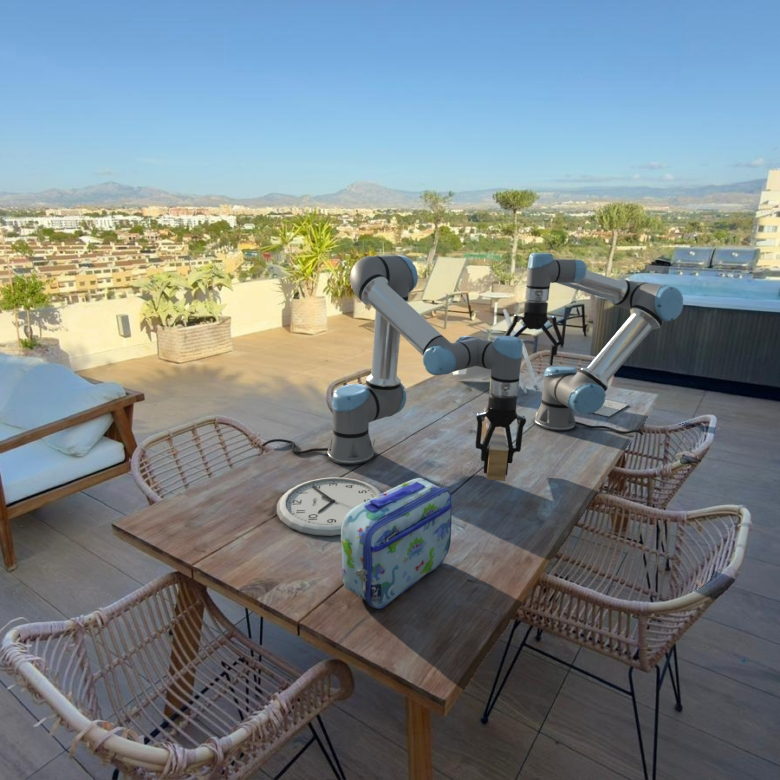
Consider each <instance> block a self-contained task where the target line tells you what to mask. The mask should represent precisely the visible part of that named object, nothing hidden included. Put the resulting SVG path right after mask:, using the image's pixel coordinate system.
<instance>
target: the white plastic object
mask: <svg viewBox="0 0 780 780" xmlns="http://www.w3.org/2000/svg"><path fill="white" fill-rule="evenodd" d="M502 312H503V315H504V319H505V321H506V325H507V329H508V328H509V326H510V324H511V323H512V318H511V316H510V314H509V312H508V311H507V309H506V308H504V309H502ZM515 332H516V331H515V328H514V329H513V330H512V332H511V334H510V336H512V335H513V334H514V333H515ZM492 341H493V342H494V340H492ZM522 342H523V350H522V354H523V358H524V361H525V365H526V367H527V370H528V374H529V377H530V380H531V383H532V386H533V388H534V389H535V391H540V387H539V384H538V380H537V378H536V374H535V371H534V368H533V365H532V363H531V359H530V356H529V353H528V350H527V347H526V345H525V343H524V341H523V340H522ZM451 373H452V376H453V377H454V379H455V380H456V381H465V380H472V379H473V380H474V379H481V378H482V379H484V380H486V379H489V378H491V369H486V368H483V367H479V366H474V367H470V368H466V369H462V370H458V371H455V372H451ZM519 387H520V388H521V389H522V391H523V392H524V394H527V391H528V389H527V386H526V383H525V381H524V377H523V373H522V371H521V369H520V375H519Z"/></svg>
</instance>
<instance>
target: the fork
mask: <svg viewBox="0 0 780 780" xmlns="http://www.w3.org/2000/svg"><path fill="white" fill-rule="evenodd" d="M437 487H439V488H442V487H444V488H447V487H448V484H446V483H445V482H444V483H443V484H441V482H439V484H438V486H437Z"/></svg>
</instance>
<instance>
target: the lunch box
mask: <svg viewBox="0 0 780 780" xmlns="http://www.w3.org/2000/svg"><path fill="white" fill-rule="evenodd" d="M451 539H452V494H451V491H450V490H449V488H447V487H445V486H444V487H443V486H442V488H441V487H440V486H439V487H438V486H437V485H435V484H434V483H432V482H430V481H428V480H426V479H424V478H421V477H416V478H413V479H410V480H408V481H405V482H403V483H402V484H398V485H397V486H395V487H392V488H390V489H389V490H386V491H384V492H382V494H380V495H378V496H376V497H374V498H372V499H370V500H368V501H366V502H364V503H362V504H360V505H358V506H356V507H354V508H353V509H351V510H350V511H349V512H348V514H347V515H346V517H345V518H344V520H343V523H342V528H341V535H340V546H341V569H342V570H341V571H342V582H343V585H344V588H345V589H346V590H347V591H349V592H351V593H353V594H355V595H356V596H358V597H359V598H361V599H362V600H364V601H365V602H366V603H367V605H368V606H370V607H372V608H374V609H378V610H379V609H380V610H381V609H383V608H384V607H387V605H389V604H390V603H391V602H392V601H393V600H395V599H396V598H397V597H399V596H400V595H402V594H403V593H404V592H405V591H407V590H408V589H409V588H411V587H412V586H413V585H415V584H416V583H418V581H419V580H420V579H421V578H423V577H425V576H427V575H428V574H429V573H431V572H432V571H434V570H435V569H437V568H438V567H439V566H441V564H442V563H443V562H444V561H445V559H446V557H447V556H448V554H449V550H450V547H451V541H452V540H451Z"/></svg>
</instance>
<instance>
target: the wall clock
mask: <svg viewBox="0 0 780 780" xmlns="http://www.w3.org/2000/svg"><path fill="white" fill-rule="evenodd" d="M382 493H383V492H382V491H381V490H380V489H379V488H377V487H376V486H374V485H372V484H371V483H369V482H365V481H362V480H359V479H355V478H349V477H338V476H337V477H335V476H333V477H332V476H331V477H322V478H317V479H312V480H307V481H305V482H302V483H299V484H297V485H295V486H293V487H292V488H290V489H288V490H287V491H286V492H285V493H284V494H283V495H281V496H280V498H279V499H278V502H277V503H276V515H277V517H278V518H279V520H280V521H281V522H282V523H283V524H285V525H286V526H287V527H288V528H290V529H293V530H295V531H297V532H299V533H303V534H308V535H312V536H327V537H328V536H329V537H331V536H332V537H333V536H341V528H342V523H343V520H344V518H345V517H346V515H347V514H348V512H349V511H350V510H351V509H353V508H354V507H356V506H358V505H360V504H362V503H364V502H366V501H368V500H370V499H372V498H374V497H376V496H378V495H380V494H382Z"/></svg>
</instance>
